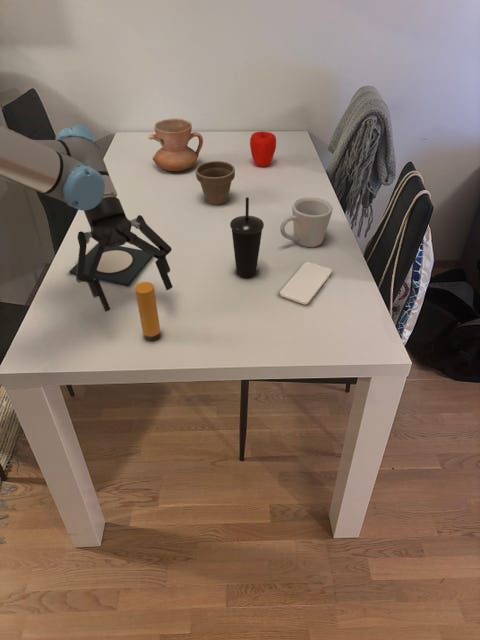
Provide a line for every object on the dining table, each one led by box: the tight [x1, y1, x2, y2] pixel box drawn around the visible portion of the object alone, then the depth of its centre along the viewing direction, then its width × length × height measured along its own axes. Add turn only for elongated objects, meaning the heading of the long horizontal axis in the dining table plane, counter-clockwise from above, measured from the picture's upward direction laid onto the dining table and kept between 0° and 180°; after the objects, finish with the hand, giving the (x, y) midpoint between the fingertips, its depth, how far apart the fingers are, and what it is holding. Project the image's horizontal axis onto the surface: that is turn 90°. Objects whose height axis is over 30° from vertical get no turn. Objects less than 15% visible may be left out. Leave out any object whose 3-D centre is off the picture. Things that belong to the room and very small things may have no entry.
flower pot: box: [194, 160, 236, 206], centre depth 142 cm, size 12×11×10 cm
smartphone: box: [279, 261, 333, 306], centre depth 113 cm, size 7×1×15 cm
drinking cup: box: [229, 197, 265, 279], centre depth 111 cm, size 8×8×20 cm
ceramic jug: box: [147, 118, 204, 172], centre depth 159 cm, size 18×14×14 cm
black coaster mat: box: [69, 242, 154, 287], centre depth 120 cm, size 16×14×1 cm
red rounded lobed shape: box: [249, 131, 277, 168], centre depth 162 cm, size 9×9×11 cm
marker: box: [134, 281, 161, 341], centre depth 96 cm, size 4×4×13 cm
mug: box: [279, 196, 334, 248], centre depth 124 cm, size 10×15×10 cm
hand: (139, 299), depth 98 cm, fingers open, 13 cm apart
